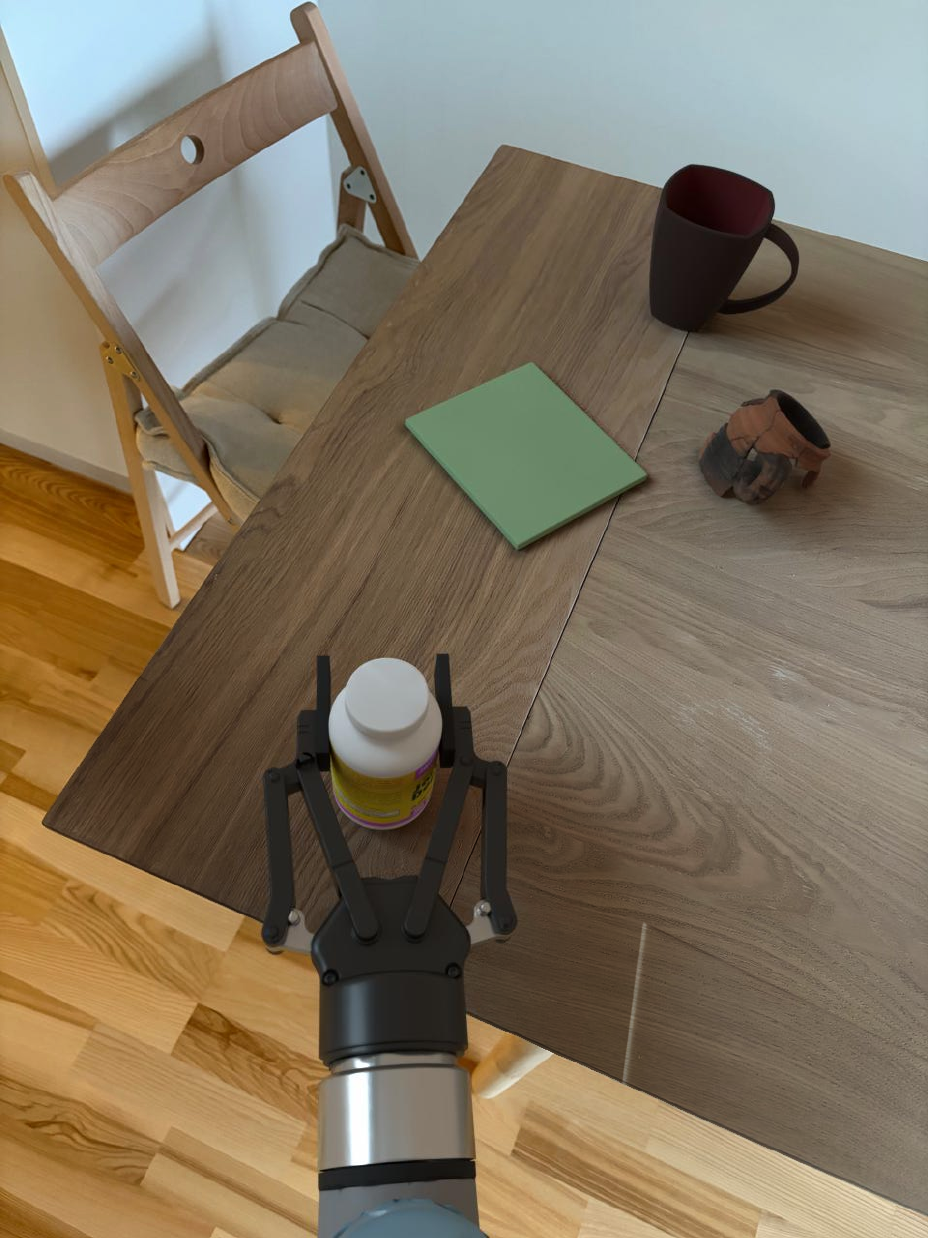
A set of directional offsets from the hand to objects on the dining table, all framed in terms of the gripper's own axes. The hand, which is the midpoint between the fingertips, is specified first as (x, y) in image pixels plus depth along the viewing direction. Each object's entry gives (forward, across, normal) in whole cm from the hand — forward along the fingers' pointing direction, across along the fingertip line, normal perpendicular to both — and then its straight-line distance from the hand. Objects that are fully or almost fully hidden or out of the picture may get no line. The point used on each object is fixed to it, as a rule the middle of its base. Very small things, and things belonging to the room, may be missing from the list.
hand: (383, 665), depth 59 cm
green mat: (+25, +13, -8) cm, 30 cm away
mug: (+43, +32, -8) cm, 55 cm away
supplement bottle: (-5, 0, -7) cm, 9 cm away
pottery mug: (+22, +32, -8) cm, 40 cm away
